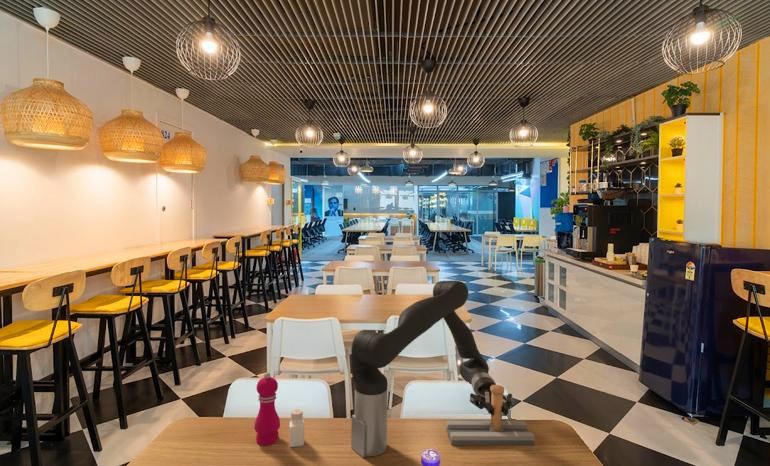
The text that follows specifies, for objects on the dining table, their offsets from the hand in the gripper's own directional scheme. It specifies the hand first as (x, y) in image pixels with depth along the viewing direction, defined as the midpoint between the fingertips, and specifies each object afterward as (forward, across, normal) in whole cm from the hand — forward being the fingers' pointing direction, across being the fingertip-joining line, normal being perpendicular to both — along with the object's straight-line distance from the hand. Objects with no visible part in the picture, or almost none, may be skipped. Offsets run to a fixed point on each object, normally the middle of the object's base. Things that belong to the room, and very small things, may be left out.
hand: (499, 412), depth 125 cm
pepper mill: (-1, -68, +9) cm, 68 cm away
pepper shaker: (+1, -59, +9) cm, 59 cm away
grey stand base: (-3, -2, +9) cm, 10 cm away
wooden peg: (-3, 0, +7) cm, 8 cm away
